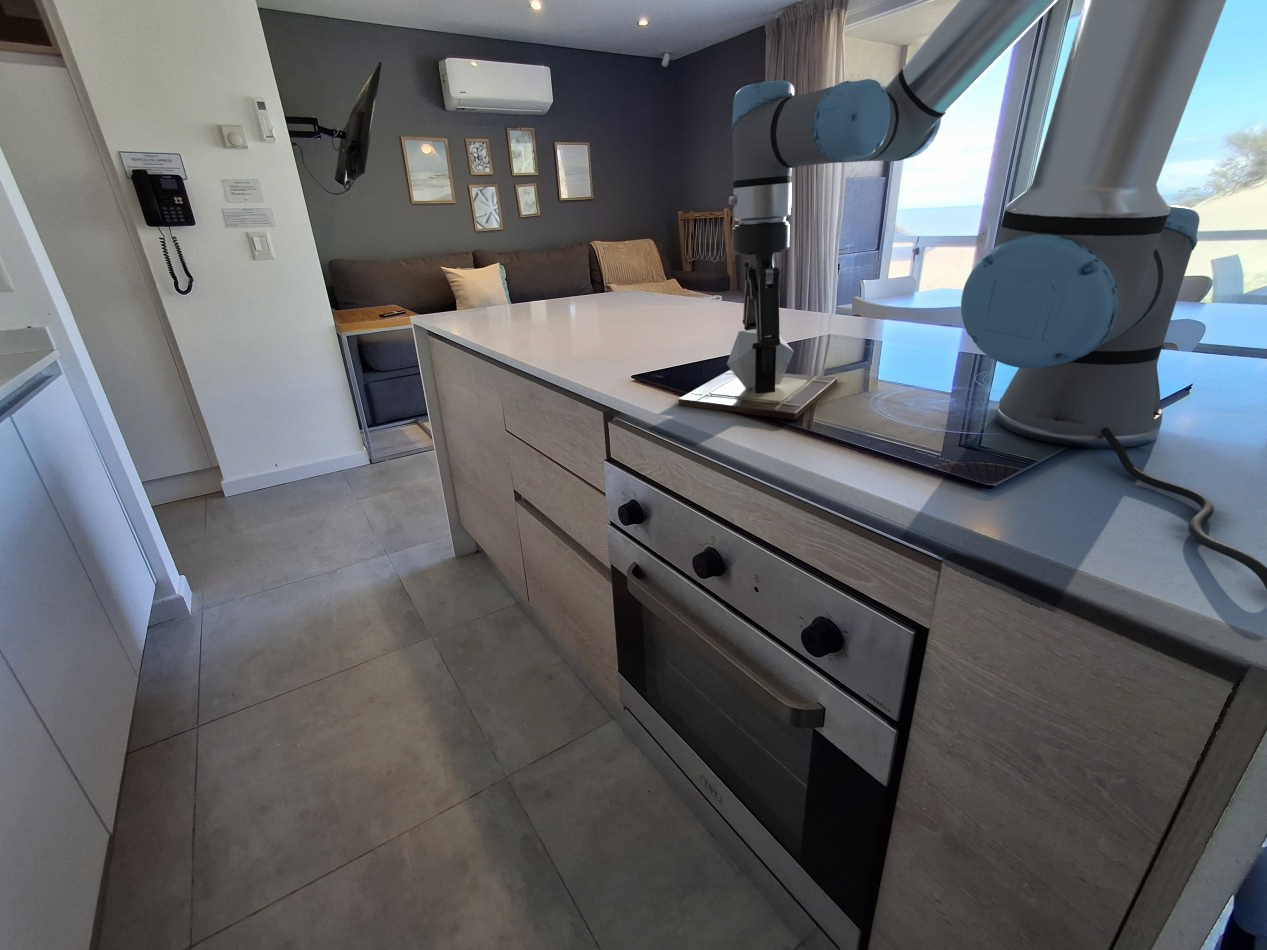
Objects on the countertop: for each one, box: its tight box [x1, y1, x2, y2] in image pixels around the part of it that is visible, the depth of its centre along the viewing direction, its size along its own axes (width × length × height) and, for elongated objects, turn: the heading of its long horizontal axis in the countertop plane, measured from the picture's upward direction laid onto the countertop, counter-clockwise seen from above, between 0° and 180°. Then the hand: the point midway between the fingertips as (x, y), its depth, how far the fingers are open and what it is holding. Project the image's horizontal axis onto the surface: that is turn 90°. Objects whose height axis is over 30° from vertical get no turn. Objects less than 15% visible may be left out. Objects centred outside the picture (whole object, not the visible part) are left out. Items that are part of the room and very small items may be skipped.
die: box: [726, 329, 795, 389], centre depth 85 cm, size 8×9×10 cm
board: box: [677, 369, 838, 421], centre depth 87 cm, size 18×18×1 cm
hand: (759, 382), depth 86 cm, fingers closed on die, 9 cm apart
